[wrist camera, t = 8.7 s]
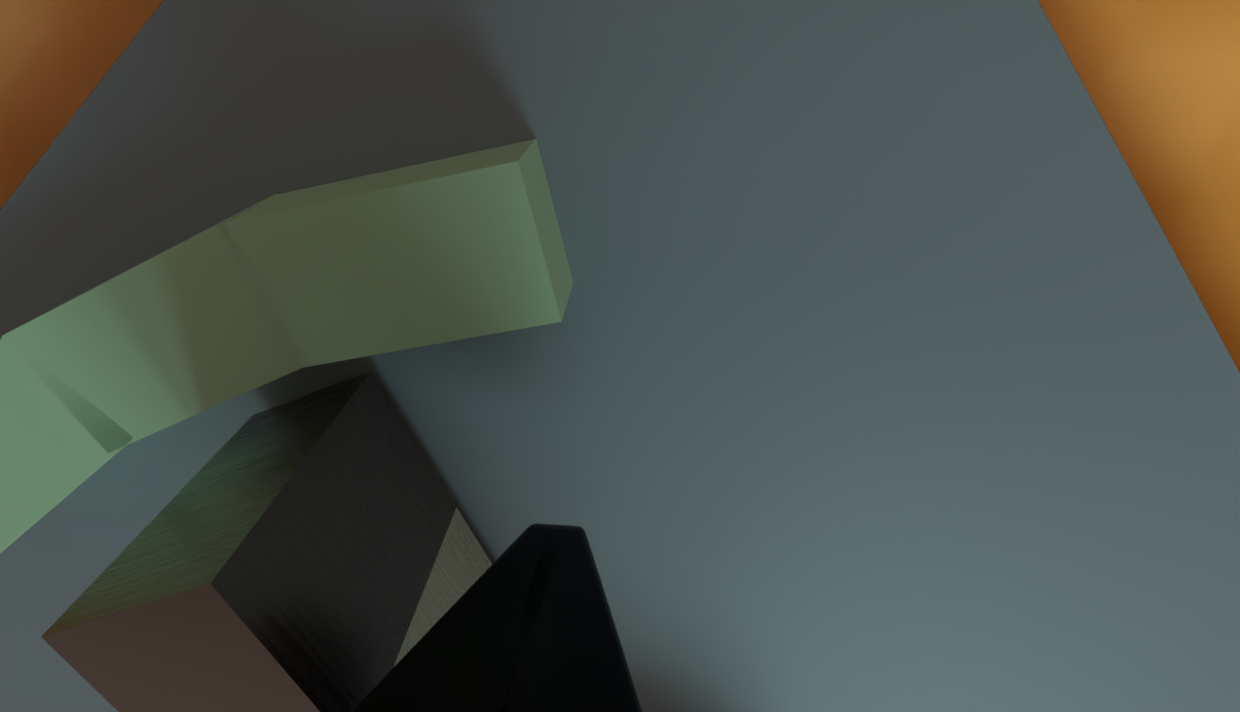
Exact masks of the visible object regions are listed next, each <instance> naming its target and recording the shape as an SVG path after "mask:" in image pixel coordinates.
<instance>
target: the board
mask: <svg viewBox="0 0 1240 712" xmlns="http://www.w3.org/2000/svg"><path fill="white" fill-rule="evenodd" d="M370 371H371V372H372V374H373V376H374V377H375V379H376V380H377V382H378V384H379V385H380V387H381V388H382V390H383V391H384V393H385V395H386V396H387V398H388V399H389V401H390V403H391V404H392V406H393V407H394V409H395V410H396V412H397V414H398V415H399V417H400V418H401V420H402V422H403V423H404V425H405V426H406V428H407V430H408V431H409V433H410V434H411V436H412V437H413V439H414V441H415V442H416V444H417V445H418V447H419V449H420V450H421V452H422V453H423V455H424V456H425V458H426V460H427V461H428V463H429V464H430V466H431V468H432V469H433V471H434V472H435V474H436V476H437V477H438V479H439V480H440V482H441V483H442V485H443V487H444V488H445V490H446V491H447V493H448V495H449V496H450V498H451V499H452V501H453V503H454V504H455V506H456V507H457V509H458V510H459V512H460V514H461V515H462V517H463V518H464V520H465V522H466V523H467V525H468V526H469V528H470V529H471V531H472V533H473V534H474V536H475V537H476V539H477V541H478V542H479V544H480V545H481V547H482V549H483V550H484V552H485V553H486V555H487V556H488V558H489V560H490V561H491V563H492V564H493V563H494V562H495V561H496V560H497V559H498V558H499V557H500V556H501V555H502V554H503V552H504V551H505V550H506V549H507V548H508V547H509V546H510V545H511V544H512V543H513V542H514V541H515V540H516V539H517V538H518V537H519V536H520V535H521V534H522V533H523V532H524V531H525V529H526V528H528V527H529V526H530V525H532V524H535V523H542V524H556V525H571V526H580V527H582V528H583V529H584V530H585V532H586V534H587V537H588V541H589V544H590V547H591V550H592V553H593V556H594V559H595V563H596V566H597V569H598V572H599V575H600V578H601V581H602V585H603V588H604V591H605V594H606V597H607V600H608V603H609V606H610V610H611V613H612V616H613V619H614V622H615V625H616V628H617V632H618V635H619V638H620V641H621V644H622V647H623V650H624V654H625V657H626V660H627V663H628V666H629V669H630V672H631V675H632V679H633V682H634V685H635V688H636V691H637V694H638V697H639V701H640V704H641V707H642V710H643V712H1240V372H1239V371H1238V369H1237V367H1236V365H1235V363H1234V361H1233V359H1232V358H1231V356H1230V354H1229V352H1228V350H1227V348H1226V347H1225V345H1224V343H1223V341H1222V339H1221V337H1220V335H1219V334H1218V332H1217V330H1216V328H1215V326H1214V324H1213V323H1212V321H1211V319H1210V317H1209V315H1208V313H1207V311H1206V310H1205V308H1204V306H1203V304H1202V302H1201V300H1200V299H1199V297H1198V295H1197V293H1196V291H1195V289H1194V287H1193V286H1192V284H1191V282H1190V280H1189V278H1188V276H1187V275H1186V273H1185V271H1184V269H1183V267H1182V265H1181V263H1180V262H1179V260H1178V258H1177V256H1176V254H1175V252H1174V251H1173V249H1172V247H1171V245H1170V243H1169V241H1168V239H1167V238H1166V236H1165V234H1164V232H1163V230H1162V228H1161V226H1160V225H1159V223H1158V221H1157V219H1156V217H1155V215H1154V214H1153V212H1152V210H1151V208H1150V206H1149V204H1148V202H1147V201H1146V199H1145V197H1144V195H1143V193H1142V191H1141V190H1140V188H1139V186H1138V184H1137V182H1136V180H1135V178H1134V177H1133V175H1132V173H1131V171H1130V169H1129V167H1128V166H1127V164H1126V162H1125V160H1124V158H1123V156H1122V154H1121V153H1120V151H1119V149H1118V147H1117V145H1116V143H1115V142H1114V140H1113V138H1112V136H1111V134H1110V132H1109V130H1108V129H1107V127H1106V125H1105V123H1104V121H1103V119H1102V118H1101V116H1100V114H1099V112H1098V110H1097V108H1096V106H1095V105H1094V103H1093V101H1092V99H1091V97H1090V95H1089V94H1088V92H1087V90H1086V88H1085V86H1084V84H1083V82H1082V81H1081V79H1080V77H1079V75H1078V73H1077V71H1076V70H1075V68H1074V66H1073V64H1072V62H1071V60H1070V58H1069V57H1068V55H1067V53H1066V51H1065V49H1064V47H1063V46H1062V44H1061V42H1060V40H1059V38H1058V36H1057V34H1056V33H1055V31H1054V29H1053V27H1052V25H1051V23H1050V21H1049V20H1048V18H1047V16H1046V14H1045V12H1044V10H1043V9H1042V7H1041V5H1040V3H1039V1H1038V0H163V1H162V3H161V4H160V5H159V7H158V8H157V9H156V10H155V12H154V13H153V14H152V16H151V17H150V18H149V19H148V21H147V22H146V23H145V25H144V26H143V27H142V28H141V30H140V31H139V32H138V33H137V35H136V36H135V37H134V39H133V40H132V41H131V42H130V44H129V45H128V46H127V48H126V49H125V50H124V51H123V53H122V54H121V55H120V57H119V58H118V59H117V60H116V62H115V63H114V64H113V66H112V67H111V68H110V69H109V71H108V72H107V73H106V75H105V76H104V77H103V78H102V80H101V81H100V82H99V84H98V85H97V86H96V87H95V89H94V90H93V91H92V93H91V94H90V95H89V96H88V98H87V99H86V100H85V102H84V103H83V104H82V105H81V107H80V108H79V109H78V111H77V112H76V113H75V114H74V116H73V117H72V118H71V120H70V121H69V122H68V123H67V125H66V126H65V127H64V129H63V130H62V131H61V132H60V134H59V135H58V136H57V138H56V139H55V140H54V141H53V143H52V144H51V145H50V147H49V148H48V149H47V150H46V152H45V153H44V154H43V156H42V157H41V158H40V159H39V161H38V162H37V163H36V165H35V166H34V167H33V168H32V170H31V171H30V172H29V173H28V175H27V176H26V177H25V179H24V180H23V181H22V182H21V184H20V185H19V186H18V188H17V189H16V190H15V191H14V193H13V194H12V195H11V197H10V198H9V199H8V200H7V202H6V203H5V204H4V206H3V207H2V208H1V209H0V712H118V711H117V710H116V709H115V708H114V707H113V706H112V705H111V704H110V703H109V702H108V701H107V700H106V699H105V698H104V697H103V696H102V695H101V694H99V693H98V692H97V691H96V690H95V689H94V688H93V687H92V686H91V685H90V684H89V683H88V682H87V681H86V680H85V679H84V678H83V677H82V676H81V675H80V674H79V673H78V672H77V671H76V670H75V669H74V668H73V667H72V666H70V665H69V664H68V663H67V662H66V661H65V660H64V659H63V658H62V657H61V656H60V655H59V654H58V653H57V652H56V651H55V650H54V649H53V648H52V647H51V646H50V645H49V644H48V643H47V642H46V641H45V640H44V639H43V638H41V636H42V635H43V634H44V633H45V632H46V631H47V630H48V629H49V628H50V627H51V626H52V625H53V624H54V623H55V621H56V620H57V619H58V618H59V617H60V616H61V615H62V614H63V613H64V612H65V611H66V610H67V609H68V608H69V607H70V606H71V605H72V604H73V603H74V602H75V601H76V600H77V598H78V597H79V596H80V595H81V594H82V593H83V592H84V591H85V590H86V589H87V588H88V587H89V586H90V585H91V584H92V583H93V582H94V581H95V580H96V579H97V578H98V576H99V575H100V574H101V573H102V572H103V571H104V570H105V569H106V568H107V567H108V566H109V565H110V564H111V563H112V562H113V561H114V560H115V559H116V558H117V557H118V556H119V555H120V553H121V552H122V551H123V550H124V549H125V548H126V547H127V546H128V545H129V544H130V543H131V542H132V541H133V540H134V539H135V538H136V537H137V536H138V535H139V534H140V533H141V531H142V530H143V529H144V528H145V527H146V526H147V525H148V524H149V523H150V522H151V521H152V520H153V519H154V518H155V517H156V516H157V515H158V514H159V513H160V512H161V511H162V510H163V508H164V507H165V506H166V505H167V504H168V503H169V502H170V501H171V500H172V499H173V498H174V497H175V496H176V495H177V494H178V493H179V492H180V491H181V490H182V489H183V488H184V486H185V485H186V484H187V483H188V482H189V481H190V480H191V479H192V478H193V477H194V476H195V475H196V474H197V473H198V472H199V471H200V470H201V469H202V468H203V467H204V466H205V465H206V463H207V462H208V461H209V460H210V459H211V458H212V457H213V456H214V455H215V454H216V453H217V452H218V451H219V450H220V449H221V448H222V447H223V446H224V445H225V444H226V443H227V442H228V440H229V439H230V438H231V437H232V436H233V435H234V434H235V433H236V432H237V431H238V430H239V429H240V428H241V427H242V426H243V425H244V424H245V423H246V422H247V421H248V420H249V418H250V417H251V416H252V415H254V414H257V413H260V412H262V411H265V410H268V409H271V408H273V407H276V406H279V405H281V404H284V403H287V402H289V401H292V400H295V399H298V398H300V397H303V396H306V395H308V394H311V393H314V392H316V391H319V390H322V389H325V388H327V387H330V386H333V385H335V384H338V383H341V382H343V381H346V380H349V379H351V378H354V377H357V376H360V375H362V374H365V373H368V372H370Z"/></svg>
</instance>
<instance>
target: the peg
mask: <svg viewBox="0 0 1240 712" xmlns="http://www.w3.org/2000/svg"><path fill="white" fill-rule="evenodd" d="M491 565H492V563H491V561H490V560H489V558H488V556H487V555H486V553H485V552H484V550H483V549H482V547H481V545H480V544H479V542H478V541H477V539H476V537H475V536H474V534H473V533H472V531H471V529H470V528H469V526H468V525H467V523H466V522H465V520H464V518H463V517H462V515H461V514H460V512H459V510H458V509H457V507H456V506H455V504H454V503H453V501H452V499H451V498H450V496H449V495H448V493H447V491H446V490H445V488H444V487H443V485H442V483H441V482H440V480H439V479H438V477H437V476H436V474H435V472H434V471H433V469H432V468H431V466H430V464H429V463H428V461H427V460H426V458H425V456H424V455H423V453H422V452H421V450H420V449H419V447H418V445H417V444H416V442H415V441H414V439H413V437H412V436H411V434H410V433H409V431H408V430H407V428H406V426H405V425H404V423H403V422H402V420H401V418H400V417H399V415H398V414H397V412H396V410H395V409H394V407H393V406H392V404H391V403H390V401H389V399H388V398H387V396H386V395H385V393H384V391H383V390H382V388H381V387H380V385H379V384H378V382H377V380H376V379H375V377H374V376H373V374H372V372H371V371H370V372H368V373H365V374H362V375H360V376H357V377H354V378H351V379H349V380H346V381H343V382H341V383H338V384H335V385H333V386H330V387H327V388H325V389H322V390H319V391H316V392H314V393H311V394H308V395H306V396H303V397H300V398H298V399H295V400H292V401H289V402H287V403H284V404H281V405H279V406H276V407H273V408H271V409H268V410H265V411H262V412H260V413H257V414H254V415H252V416H251V417H250V418H249V420H248V421H247V422H246V423H245V424H244V425H243V426H242V427H241V428H240V429H239V430H238V431H237V432H236V433H235V434H234V435H233V436H232V437H231V438H230V439H229V440H228V442H227V443H226V444H225V445H224V446H223V447H222V448H221V449H220V450H219V451H218V452H217V453H216V454H215V455H214V456H213V457H212V458H211V459H210V460H209V461H208V462H207V463H206V465H205V466H204V467H203V468H202V469H201V470H200V471H199V472H198V473H197V474H196V475H195V476H194V477H193V478H192V479H191V480H190V481H189V482H188V483H187V484H186V485H185V486H184V488H183V489H182V490H181V491H180V492H179V493H178V494H177V495H176V496H175V497H174V498H173V499H172V500H171V501H170V502H169V503H168V504H167V505H166V506H165V507H164V508H163V510H162V511H161V512H160V513H159V514H158V515H157V516H156V517H155V518H154V519H153V520H152V521H151V522H150V523H149V524H148V525H147V526H146V527H145V528H144V529H143V530H142V531H141V533H140V534H139V535H138V536H137V537H136V538H135V539H134V540H133V541H132V542H131V543H130V544H129V545H128V546H127V547H126V548H125V549H124V550H123V551H122V552H121V553H120V555H119V556H118V557H117V558H116V559H115V560H114V561H113V562H112V563H111V564H110V565H109V566H108V567H107V568H106V569H105V570H104V571H103V572H102V573H101V574H100V575H99V576H98V578H97V579H96V580H95V581H94V582H93V583H92V584H91V585H90V586H89V587H88V588H87V589H86V590H85V591H84V592H83V593H82V594H81V595H80V596H79V597H78V598H77V600H76V601H75V602H74V603H73V604H72V605H71V606H70V607H69V608H68V609H67V610H66V611H65V612H64V613H63V614H62V615H61V616H60V617H59V618H58V619H57V620H56V621H55V623H54V624H53V625H52V626H51V627H50V628H49V629H48V630H47V631H46V632H45V633H44V634H43V635H42V636H41V638H43V639H44V640H45V641H46V642H47V643H48V644H49V645H50V646H51V647H52V648H53V649H54V650H55V651H56V652H57V653H58V654H59V655H60V656H61V657H62V658H63V659H64V660H65V661H66V662H67V663H68V664H69V665H70V666H72V667H73V668H74V669H75V670H76V671H77V672H78V673H79V674H80V675H81V676H82V677H83V678H84V679H85V680H86V681H87V682H88V683H89V684H90V685H91V686H92V687H93V688H94V689H95V690H96V691H97V692H98V693H99V694H101V695H102V696H103V697H104V698H105V699H106V700H107V701H108V702H109V703H110V704H111V705H112V706H113V707H114V708H115V709H116V710H117V711H118V712H351V711H352V710H353V709H354V708H355V707H356V706H357V705H358V704H359V703H360V702H361V701H362V700H363V699H364V698H365V697H366V696H367V695H368V694H369V692H370V691H371V690H372V689H373V688H374V687H375V686H376V685H377V684H378V683H379V682H380V681H381V680H382V679H383V678H384V677H385V676H386V675H387V674H388V673H389V672H390V671H391V670H392V668H393V667H394V666H395V665H396V664H397V663H398V662H399V661H400V660H401V659H402V658H403V657H404V656H405V655H406V654H407V653H408V652H409V651H410V650H411V649H412V648H413V647H414V645H415V644H416V643H417V642H418V641H419V640H420V639H421V638H422V637H423V636H424V635H425V634H426V633H427V632H428V631H429V630H430V629H431V628H432V627H433V626H434V625H435V624H436V622H437V621H438V620H439V619H440V618H441V617H442V616H443V615H444V614H445V613H446V612H447V611H448V610H449V609H450V608H451V607H452V606H453V605H454V604H455V603H456V602H457V601H458V600H459V598H460V597H461V596H462V595H463V594H464V593H465V592H466V591H467V590H468V589H469V588H470V587H471V586H472V585H473V584H474V583H475V582H476V581H477V580H478V579H479V578H480V577H481V575H482V574H483V573H484V572H485V571H486V570H487V569H488V568H489V567H490V566H491Z"/></svg>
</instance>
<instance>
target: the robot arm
mask: <svg viewBox="0 0 1240 712" xmlns="http://www.w3.org/2000/svg"><path fill="white" fill-rule="evenodd" d="M351 712H643V710H642V707H641V704H640V701H639V697H638V694H637V691H636V688H635V685H634V682H633V679H632V675H631V672H630V669H629V666H628V663H627V660H626V657H625V654H624V650H623V647H622V644H621V641H620V638H619V635H618V632H617V628H616V625H615V622H614V619H613V616H612V613H611V610H610V606H609V603H608V600H607V597H606V594H605V591H604V588H603V585H602V581H601V578H600V575H599V572H598V569H597V566H596V563H595V559H594V556H593V553H592V550H591V547H590V544H589V541H588V537H587V534H586V532H585V530H584V529H583V528H582V527H580V526H571V525H556V524H542V523H535V524H532V525H530V526H529V527H528V528H526V529H525V531H524V532H523V533H522V534H521V535H520V536H519V537H518V538H517V539H516V540H515V541H514V542H513V543H512V544H511V545H510V546H509V547H508V548H507V549H506V550H505V551H504V552H503V554H502V555H501V556H500V557H499V558H498V559H497V560H496V561H495V562H494V563H493V564H492V565H491V566H490V567H489V568H488V569H487V570H486V571H485V572H484V573H483V574H482V575H481V577H480V578H479V579H478V580H477V581H476V582H475V583H474V584H473V585H472V586H471V587H470V588H469V589H468V590H467V591H466V592H465V593H464V594H463V595H462V596H461V597H460V598H459V600H458V601H457V602H456V603H455V604H454V605H453V606H452V607H451V608H450V609H449V610H448V611H447V612H446V613H445V614H444V615H443V616H442V617H441V618H440V619H439V620H438V621H437V622H436V624H435V625H434V626H433V627H432V628H431V629H430V630H429V631H428V632H427V633H426V634H425V635H424V636H423V637H422V638H421V639H420V640H419V641H418V642H417V643H416V644H415V645H414V647H413V648H412V649H411V650H410V651H409V652H408V653H407V654H406V655H405V656H404V657H403V658H402V659H401V660H400V661H399V662H398V663H397V664H396V665H395V666H394V667H393V668H392V670H391V671H390V672H389V673H388V674H387V675H386V676H385V677H384V678H383V679H382V680H381V681H380V682H379V683H378V684H377V685H376V686H375V687H374V688H373V689H372V690H371V691H370V692H369V694H368V695H367V696H366V697H365V698H364V699H363V700H362V701H361V702H360V703H359V704H358V705H357V706H356V707H355V708H354V709H353V710H352V711H351Z"/></svg>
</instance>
